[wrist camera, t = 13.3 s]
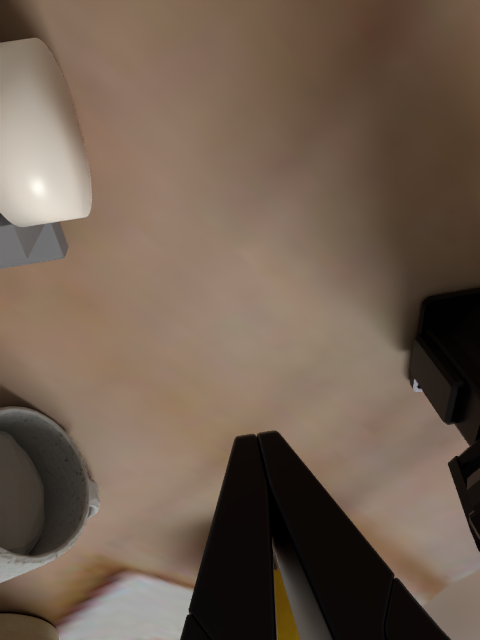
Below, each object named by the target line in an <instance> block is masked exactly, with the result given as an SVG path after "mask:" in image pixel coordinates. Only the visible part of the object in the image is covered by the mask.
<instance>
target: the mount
mask: <svg viewBox="0 0 480 640" xmlns="http://www.w3.org/2000/svg"><path fill="white" fill-rule="evenodd" d="M67 250H68V245H67V242H66V240H65V237H64V234H63V231H62V229H61V226H60V223H59V222H53V223H46V224H40V225H34V226H28V227H18V226H16V225H14V224H12V223H11V222H9V221H8V220H7V219H6V218H5V217H4V216H3V215H2V214H1V213H0V269H2V268H8V267H14V266H20V265H26V264H32V263H38V262H44V261H50V260H56V259H62V258H65V255H66V252H67Z"/></svg>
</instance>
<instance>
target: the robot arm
mask: <svg viewBox="0 0 480 640" xmlns="http://www.w3.org/2000/svg"><path fill="white" fill-rule="evenodd" d="M434 304H435V305H434ZM432 305H434V306H433V307H432V308H430V307H431V306H432ZM410 373H411V380H410V385H411V387H412V388H413V390H414V391H416V392H422V391H423V392H424V394H425V395H426V397H427V398H428V400H429V401H430V403H431V404H432V406H433V407H434V409H435V410H436V412H437V413H438V415H439V416H440V418H441V419H442V421H443V422H445V423H446V424H447V425H451V424H455V426H456V427H457V428H458V430H459V431H460V433H461V434H462V436H463V437H464V439H465V440H466V441H467V443H468V444H469V446H470V447H469V448H467V449H466V450H465V451H464V452H463V453H462V454H461V455H459V456H455V457H454V458H453V459H452V460H451V461H450V462H449V463H448V466H449V469H450V472H451V475H452V478H453V480H454V483H455V486H456V489H457V492H458V495H459V498H460V501H461V504H462V507H463V510H464V513H465V516H466V519H467V522H468V525H469V528H470V531H471V533H472V535H473V538H474V540H475V543H476V546H477V548H478V550H479V552H480V288H475V289H469V290H463V291H458V292H452V293H446V294H441V295H435V296H430V297H428V298H426V299H425V300H424V301H423V302H422V305H421V311H420V318H419V325H418V331H417V335H416V336H415V338H414V343H413V350H412V358H411V365H410ZM272 543H273V548H274V551H275V555H276V559H277V562H278V566H279V569H280V572H281V576H282V579H283V583H284V586H285V589H286V593H287V596H288V600H289V603H290V606H291V610H292V613H293V617H294V620H295V623H296V627H297V630H298V634H299V637H300V640H451V639H450V638H449V637H448V636H447V635H446V634H445V633H444V632H443V631H442V630H441V629H440V628H439V626H438V625H437V624H436V623H435V622H434V621H433V619H432V618H431V617H430V616H429V615H428V613H427V612H426V611H425V610H424V609H423V608H422V606H421V605H420V604H419V603H418V602H417V601H416V599H415V598H414V597H413V596H412V595H411V593H410V592H409V591H408V590H407V589H406V587H405V586H404V585H403V584H402V582H401V581H400V580H399V579H398V578H394V573H393V572H392V570H391V569H390V568H389V567H388V566H387V564H386V563H385V562H384V561H383V559H382V558H381V557H380V556H379V555H378V553H377V552H376V551H375V550H374V548H373V547H372V546H371V545H370V544H369V542H368V541H367V540H366V539H365V537H364V536H363V535H362V534H361V532H360V531H359V530H358V529H357V528H356V526H355V525H354V524H353V523H352V521H351V520H350V519H349V518H348V517H347V515H346V514H345V513H344V512H343V510H342V509H341V508H340V507H339V506H338V504H337V503H336V502H335V501H334V499H333V498H332V497H331V496H330V494H329V493H328V492H327V491H326V490H325V488H324V487H323V486H322V485H321V483H320V482H319V481H318V480H317V479H316V477H315V476H314V475H313V474H312V472H311V471H310V470H309V469H308V468H307V466H306V465H305V464H304V463H303V461H302V460H301V459H300V458H299V456H298V455H297V454H296V453H295V452H294V450H293V449H292V448H291V447H290V445H289V444H288V443H287V442H286V441H285V439H284V438H283V437H282V436H281V434H280V433H279V432H277V431H267V432H261V433H258V434H257V437H256V435H255V434H248V435H241V436H237V437H236V438H235V440H234V443H233V446H232V450H231V454H230V458H229V461H228V465H227V469H226V473H225V476H224V480H223V484H222V487H221V491H220V495H219V499H218V502H217V506H216V510H215V513H214V517H213V521H212V525H211V528H210V532H209V536H208V540H207V543H206V547H205V551H204V554H203V558H202V562H201V566H200V569H199V573H198V577H197V580H196V584H195V588H194V592H193V595H192V599H191V603H190V607H189V614H188V615H187V617H186V620H185V624H184V628H183V631H182V635H181V639H180V640H278V638H277V619H276V601H275V583H274V565H273V548H272Z"/></svg>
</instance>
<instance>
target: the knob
mask: <svg viewBox="0 0 480 640" xmlns="http://www.w3.org/2000/svg"><path fill="white" fill-rule="evenodd" d="M91 204H92V187H91V177H90V170H89V163H88V158H87V153H86V148H85V144H84V139H83V135H82V131H81V128H80V124H79V120H78V117H77V114H76V111H75V107H74V104H73V101H72V98H71V96H70V93H69V90H68V87H67V85H66V82H65V80H64V77H63V75H62V73H61V71H60V68H59V66H58V64H57V62H56V60H55V59H54V57H53V55H52V53H51V52H50V50H49V49H48V47H47V46H46V45H45V43H44V42H43V41H42V40H40V39H39V38H29V39H22V40H15V41H8V42H1V43H0V213H1V214H2V215H3V216H4V217H5V218H6V219H7V220H8V221H9V222H11V223H12V224H14V225H16V226H18V227H28V226H34V225H40V224H46V223H53V222H59V221H65V220H71V219H78V218H84V217H87V216H88V215H89V213H90V210H91Z"/></svg>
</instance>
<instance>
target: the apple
mask: <svg viewBox="0 0 480 640" xmlns="http://www.w3.org/2000/svg"><path fill="white" fill-rule="evenodd" d="M274 583H275V601H276V619H277V638H278V640H300V637H299V634H298V630H297V627H296V623H295V620H294V617H293V613H292V610H291V606H290V603H289V600H288V596H287V593H286V589H285V586H284V583H283V579H282V576H281V572H280V570H277V569H274Z"/></svg>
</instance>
